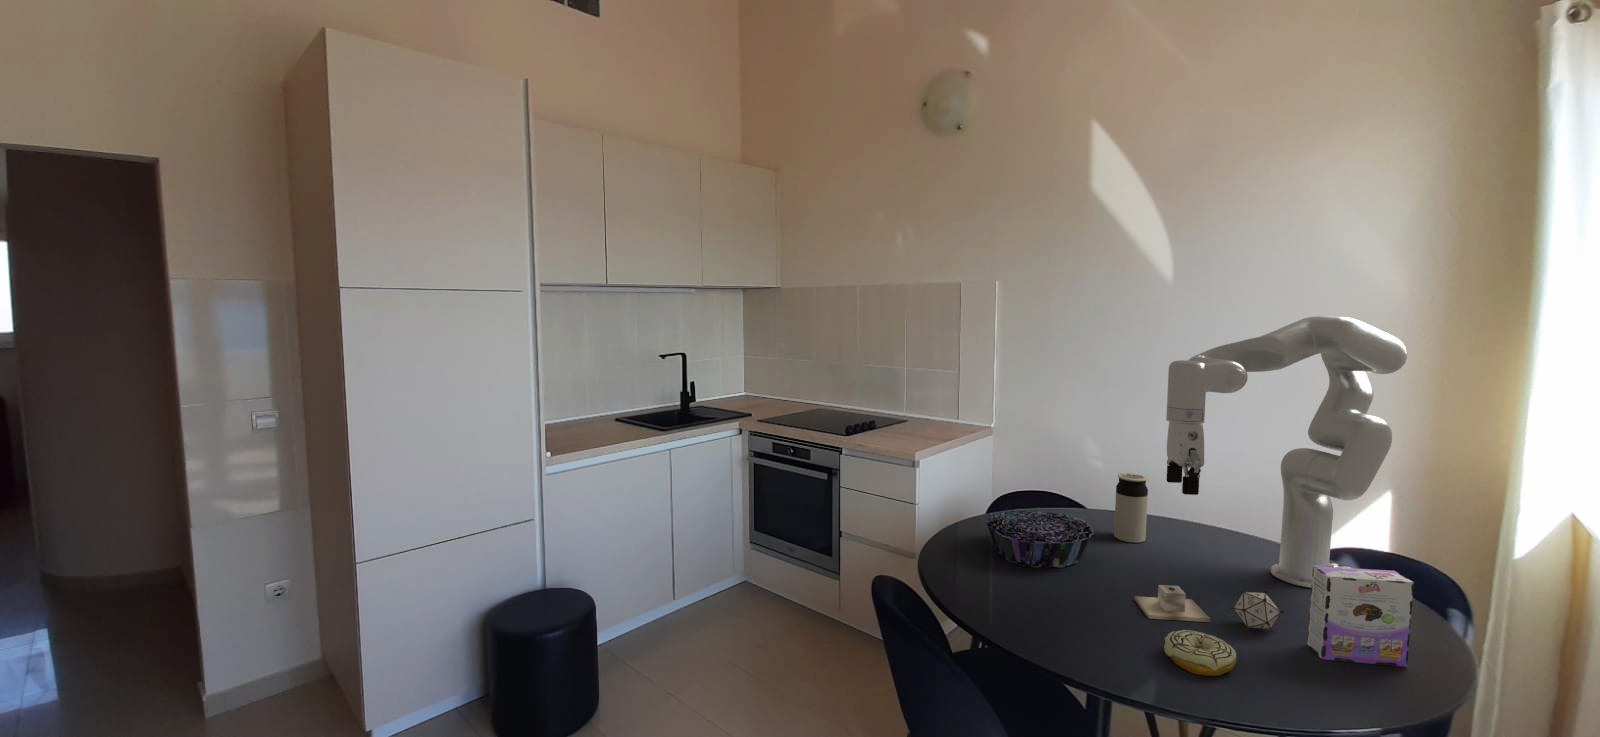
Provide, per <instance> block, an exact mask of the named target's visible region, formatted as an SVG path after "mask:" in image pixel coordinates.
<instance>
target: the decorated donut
mask: <svg viewBox="0 0 1600 737" xmlns="http://www.w3.org/2000/svg"><path fill="white" fill-rule="evenodd" d="M1164 642H1165V643H1164V647H1163V649H1164V653H1165V654H1166V656H1168V657H1169V658H1170V659H1171V661H1172V662H1173V663H1174V664H1175V665H1177V666H1178V667H1179V668H1181V669H1183V670H1185V671H1187V672H1189V673H1191V674H1194V675H1200V676H1207V677H1208V676H1209V677H1215V676H1217V677H1220V676H1222V675H1225V674H1226V673H1229V672H1231V671H1232V670H1233V669H1234V667H1235V664H1236V662H1237V651H1236V650H1235V649H1234V647H1233V646H1231V645H1230V644H1229V643H1227V641H1225V640H1223V639H1221V638H1218V637H1217V636H1215V635H1212V634H1207V633H1204V632H1200V631H1196V630H1190V629H1181V630H1174V631H1170V632H1169V633H1168V634H1167V636H1165V638H1164Z"/></svg>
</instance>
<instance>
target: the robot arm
mask: <svg viewBox="0 0 1600 737" xmlns="http://www.w3.org/2000/svg"><path fill="white" fill-rule="evenodd" d="M1318 354H1320V355H1321V358H1322V362H1323V364H1324V366H1325V369H1326V371H1327V374H1328V378H1329V383H1328V387H1327V388H1328V389H1327V391H1326V394H1325V395H1324V397H1323V399H1322V401H1321V402H1320V405H1319V406H1318V408H1317V410H1316V412H1315V414H1314V416H1313V418H1312V419H1311V421H1310V424H1309V427H1308V430H1307V434H1308V438H1309V440H1310V441H1311V442H1313V443H1314V444H1316V445H1318V446H1320V447H1322V448H1323V447H1324V448H1327V449H1331V450H1334V451H1338V452H1341V454H1340V455H1337V454H1334V453H1330V452H1327V451H1321V450H1318V449H1313V448H1309V447H1308V448H1307V447H1301V448H1300V447H1298V448H1293V449H1291V450H1289V451H1288V452H1286V453H1285V455H1284V456H1283V458H1282V460H1281V463H1280V474H1281V475H1280V476H1281V480H1282V486H1283V487H1282V488H1283V505H1282V507H1283V508H1282V516H1281V517H1282V519H1281V529H1280V530H1281V533H1280V544H1279V545H1280V546H1279V549H1280V550H1279V560H1278V563H1276V564H1272V566H1270V574H1272V576H1274V577H1275V578H1277V579H1279V580H1281V581H1283V582H1286V583H1289V584H1292V585H1294V586H1300V587H1303V588H1308V589H1309V588H1310V589H1311V587H1312V574H1313V565H1314V566H1328V567H1343V568H1351V566H1339V564H1338V563H1331V562H1330V556H1331V544H1332V543H1331V542H1332V530H1333V521H1334V519H1333V518H1334V507H1333V503H1332V500H1331V498H1334V499H1338V500H1342V501H1353V500H1357V499H1358V498H1361V497H1362V496H1363V495H1364V494H1365V493H1366V492H1367V491H1368V489H1369V488H1370V486H1371V484H1372V482H1373V480H1374V479H1375V477H1376V475H1377V473H1378V472H1379V470H1380V468H1381V466H1382V465H1383V463H1384V461H1385V459H1386V457H1387V455H1388V453H1389V451H1390V448H1391V447H1392V441H1393V432H1392V429H1391V427H1390V424H1389V423H1388V422H1387V421H1386V420H1384V419H1383V418H1381V417H1378V416H1376V415H1372V414H1369V413H1368V411H1369V408H1370V407H1371V405H1372V403H1373V400H1374V388H1373V384H1372V382H1371V379H1370V378H1369V376H1368V374H1367V373H1369V374H1376V375H1388V374H1392V373H1393V374H1394V373H1395V372H1397V371H1399V370H1401V369H1402V368H1403V366H1404V365H1405V364H1406V361H1407V360H1408V349H1407V348H1406V346H1405V343H1403V342H1402V341H1401V340H1400V339H1399V338H1398V337H1396V336H1394V335H1391V334H1390V333H1388V332H1385V331H1383V330H1381V329H1379V328H1377V327H1375V326H1372V325H1370V324H1369V323H1368V324H1367V323H1366V322H1364V321H1361V320H1359V319H1357V318H1356V319H1355V318H1352V317H1346V316H1323V315H1322V316H1321V315H1320V316H1318V315H1316V316H1308V317H1305V318H1304V317H1303V318H1302V319H1299V320H1297V321H1294V322H1292V323H1290V324H1287V325H1285V326H1283V327H1280V328H1278V329H1275V330H1273V331H1271V332H1268V333H1266V334H1263V335H1261V336H1256V337H1252V338H1251V337H1250V338H1247V339H1243V340H1240V341H1236V342H1230V343H1227V344H1223V345H1219V346H1216V347H1213V348H1211V349H1210V348H1209V349H1208V350H1205V351H1202V352H1200V353H1198V354H1196V355H1193V356H1192V357H1190V358H1188V359H1187V360H1186V359H1184V360H1183V359H1182V360H1181V359H1179V360H1174V361H1172V362H1170V363H1169V365H1168V371H1167V372H1168V374H1167V396H1166V398H1167V399H1166V400H1167V401H1166V402H1167V403H1166V418H1165V420H1166V421H1168V429H1167V437H1166V438H1167V439H1166V456H1167V461H1166V482H1167V483H1171V484H1172V483H1174V484H1177V483H1178V484H1181V488H1182V489H1181V493H1182V494H1183V495H1187V496H1188V495H1191V496H1192V495H1193V496H1197V495H1199V492H1200V491H1199V490H1200V478H1201V472H1202V470H1201V468H1202V467H1204V466H1205V435H1204V434H1205V432H1204V425H1203V424H1204V423H1205V416H1206V415H1205V413H1206V395H1207V393H1219V394H1233V393H1236V392H1239V391H1241V390H1242V389H1243V388H1244V387H1245V386H1246V384H1247V383H1248V378H1249V377H1248V375H1249V374H1248V373H1263V372H1272V371H1279V370H1282V369H1285V368H1286V367H1290V366H1292V365H1294V364H1296V363H1299V362H1300V361H1303V360H1305V359H1309V358H1311V357H1312V356H1315V355H1318ZM1183 474H1184V476H1183Z"/></svg>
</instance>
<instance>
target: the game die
mask: <svg viewBox="0 0 1600 737" xmlns="http://www.w3.org/2000/svg"><path fill="white" fill-rule="evenodd" d="M1240 592H1242V593H1241V594H1240V596H1239V598H1238V600H1237V601H1236V603H1235V604H1234V606H1229V607H1228V609H1229V610H1234V611H1235V612H1236V615H1238V617H1239V619H1240V620H1241V621H1242V622H1243V624H1244V626H1246V627H1245V632H1247V631H1249V630H1250V629H1264V630H1265V629H1266V630H1269V631H1270V632H1271V633H1274V630H1273V628H1272V627H1273V626H1274V624H1275V622H1276V621H1277V619H1278V618H1279V616H1280V615H1281V614H1286V613H1287V612H1286V611H1284V610H1280V609H1279V607H1278V606H1277V605H1276V604H1275V602H1274V601H1273V600H1272V599H1271V598H1270V596H1269V595H1268V594H1267V593H1269V591H1268V589H1265V590H1264V592H1258V591H1257V592H1255V591H1245V589H1244V588H1240Z"/></svg>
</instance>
